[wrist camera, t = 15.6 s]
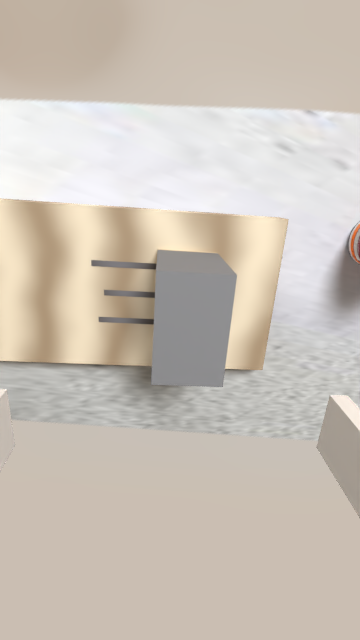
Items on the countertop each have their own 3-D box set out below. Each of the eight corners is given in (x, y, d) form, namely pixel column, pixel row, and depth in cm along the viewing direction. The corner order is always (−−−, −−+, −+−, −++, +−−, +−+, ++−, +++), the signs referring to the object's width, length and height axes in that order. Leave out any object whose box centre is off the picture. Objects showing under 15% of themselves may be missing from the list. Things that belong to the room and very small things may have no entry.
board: (-29, 349, 33) (-41, 359, 31) (-55, 194, 28) (-71, 195, 26) (256, 360, 35) (262, 370, 33) (280, 217, 30) (288, 219, 28)
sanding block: (208, 339, 31) (222, 386, 24) (153, 337, 31) (151, 384, 23) (217, 252, 28) (237, 275, 21) (157, 249, 28) (156, 270, 21)
